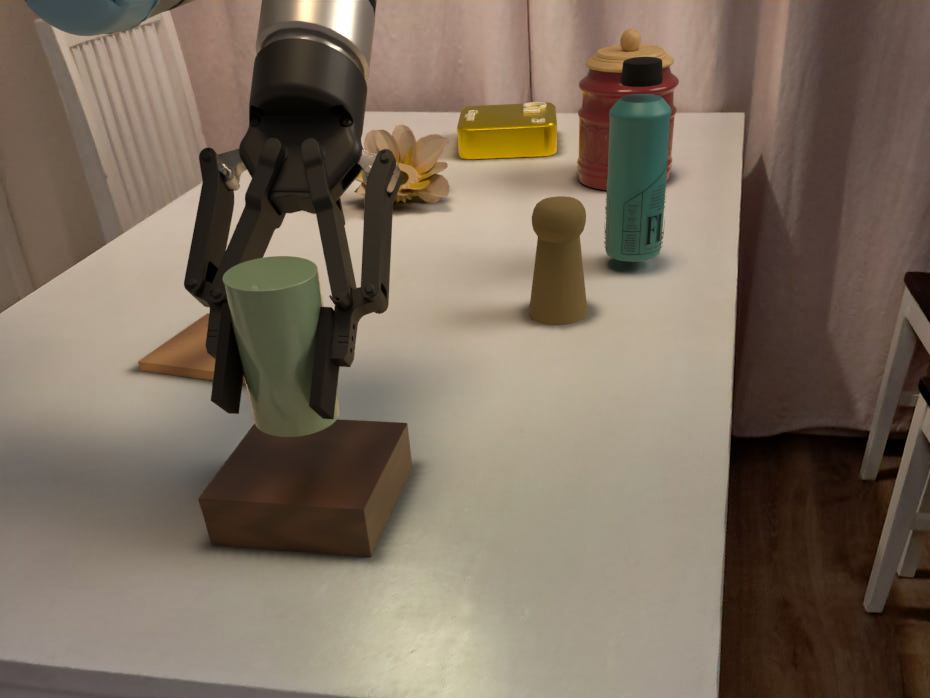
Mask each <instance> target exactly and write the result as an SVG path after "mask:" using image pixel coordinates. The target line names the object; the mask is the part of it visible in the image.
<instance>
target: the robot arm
mask: <svg viewBox="0 0 930 698" xmlns="http://www.w3.org/2000/svg"><path fill="white" fill-rule="evenodd" d="M23 1H24V2H25V3H26V6H27V7H28V8H29V9H30V10H31V11H32V12H33V13H34V14H35V15H36V16H37V17H39V18H40V19H41V20H42V21H44V22H45V23H47V24H48V25H50V26H51V27H53V28H55V29H57V30H58V31H61V32H64V33H65V34H68V35H69V34H70V35H73V36H79V37H94V36H101V35H112V34H116V33H120V32H127V31H130V30H132V29H135V28H137V27H139V26H140V25H141V24H142V23H143V22H145V21H147V20H148V19H150V18H153V17H155V16H157V15H160V14H162V13H165V12H167V11H169V12H170V11H171V10H174V9H177V8H179V7H181V6H184V5H186V4H189V3H191V2H194V1H195V0H23ZM377 2H378V0H261V3H260V11H259V19H258V24H257V25H258V26H257V34H256V40H255V52H256V53H255V54H256V56H255V58H254V61H253V69H252V76H251V77H252V78H251V84H250V85H251V86H250V92H249V93H250V94H249V103H248V127H247V131H246V133H245V134H244V136H243V137H242V139H241V141H240V142H239V146H238V148H235V149H232V150H229V151H226V152H222V153H219V154H218V153H217V152H216V150H214V148H212V147H205V148H203V149H201V151H200V152H199V154H198V161H199V168H200V174H201V175H200V176H201V181H202V183H201V189H200V193H199V198H198V199H199V200H198V205H197V209H196V216H195V221H194V226H193V230H192V231H193V232H192V238H191V243H190V248H189V253H188V257H187V258H188V259H187V263H186V269H185V274H184V275H185V276H184V279H183V287H184V289H185V290H186V291H187V292H188V293H189V295H191V296H192V297H193V298H194V299H196V300H197V302H198V303H199V304H201V305H202V306H203V307H206V308H209V312H208V313H209V320H208V329H207V330H208V331H207V337H206V349H207V353H208V354H209V355H211V356H212V357H213V358H214V359H216V360H215V369H214V377H213V381H212V386H211V393H210V402H212V403H213V404H215V405H216V406H218V407H219V408H220V409H221V410H223V411H224V412H226V413H227V414H231V415H232V414H233V415H239V414H240V408H241V401H242V400H241V399H242V390H243V385H242V383H243V375H244V374H243V370H242V365H241V361H240V356H239V352H238V347H237V343H236V338H235V334H234V330H233V325H232V321H231V316H230V312H229V307H228V303H227V298H226V294H225V290H224V285H223V281H222V278H223V275H224V273H225V272H226V271H227V270H229V269H230V268H232V267H234V266H236V265H238V264H240V263H243V262H246V261H250V260H254V259H258V258H264V257H265V254H266V251H267V249H268V247H269V245H270V242H271V240H272V237H273V236H274V233H275V230H276V229H280V228H281V226H282V224H283V222H284V220H285V218H286V215H287V214H293V213H298V212H305V213H309V214H312V215H315V216H316V221H317V226H318V227H317V228H318V231H319V236H320V242H321V246H322V252H323V259H324V262H325V268H326V272H327V277H328V283H329V288H330V293H331V294H330V295H328V297H329V299H330V301H331V302H332V303H333V305H334V308H333V307H332V306H324V307H320V313H319V322H318V331H317V340H316V349H315V357H314V366H313V375H312V384H311V392H310V401H309V407H310V408H311V409H313V410H314V411H315V412H316V413H317V414H318V415H319V416H320V417H321V418H322V419H334V411H335V402H336V393H337V394H338V385H339V384H338V383H339V374H340V368H351V366H352V365H353V362H354V360H355V355H356V353H355V351H356V344H357V335H358V327H359V322H360V320H361V319H362V318H363V317H364V316H367V315H370V314H372V313H375V314H378V315H381V314H384V313H385V312H387V310H388V308H389V304H390V303H389V302H390V280H391V260H392V259H391V258H392V257H391V256H392V235H393V234H392V233H393V215H394V214H393V213H394V212H393V211H394V203H395V202H396V200H395V198H396V196H397V193H398V191H399V188H400V186H401V183H402V180H403V176H402V173H401V170H400V168H399V166H398V164H397V161H396V159H395V157H394V154H393V153H392V151H390V150H389V149H383V150H381V151H379V152H378V154H375V153H372V152H369V151H366V150H364V146H363V143H362V136H363V131H364V125H365V116H366V107H367V99H368V98H367V97H368V84H367V82H368V79H369V76H370V67H371V60H372V59H371V58H372V51H373V41H374V33H375V24H376V10H377ZM246 171H247V172H248V174H249V176H250V177H251V180H250V182H249V184H248V186H247V189H246V191H245V195H244V201H245V203H244V207H243V210H242V212H241V214H240V217H239V219H238V222H237V223H236V226H235V229H234V231H233V233H232V235H231V238H230V240H229V235H230V230H231V225H232V219H233V214H234V207H235V192H236V191H239V189H240V188H241V185H240V181H241V176H242V174H243V173H244V172H246ZM361 172H363V174H362V178H363V181H364V183H365V185H366V189H365V196H364V198H365V206H364V205H363V206H364V207H363V208H364V209H363V227H362V229H363V230H362V248H361V249H362V252H361V253H362V254H361V269H360V270H361V273H360V287H357V284H356V283H357V281H356V277H355V271H354V268H353V262H352V256H351V252H350V247H349V242H348V237H347V236H348V235H347V232H346V227H345V225H346V219H345V213H344V209H343V204H342V203H343V202H342V199H341V197H342V196H343V195H344V194H345V192H346V191H347V190H348V189H349V187H350V186H351V185H352V184H353V183H354V181H356V180H355V179H356V178H357V177H358V175H359V174H360V173H361ZM228 241H229V243H228Z"/></svg>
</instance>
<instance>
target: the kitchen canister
mask: <svg viewBox="0 0 930 698" xmlns="http://www.w3.org/2000/svg"><path fill="white" fill-rule="evenodd" d="M619 40H620V41H619V42H620V44H617V45H616V44H615V45H610V46H605V47H602V48H599V49H597V51H596V52H595V54H593V55H592V56H591V57H588V59H587V60H586V61H585V66H586V68H588V72H587V74H586V75H585V76H584V77H582V78H581V80H579V81H578V87H579V89H580V90H581V92H582V99H581V107H580V108H579V109H578V111H577V115H578V118H579V121H578V123H579V124H578V129H579V130H578V156H577V161H576V164H577V166H576V170H577V174H578V180H579V182H580V183H581V184H583V185H584V186H587V187H589V188H591V189H592V188H593V189H597V190H603V191H607V178H608V176H607V175H608V155H609V125H610V117H609V112H610V109H611V108H612V107H613V105H614V104H615V103H616V102H617V101H618V100H619V99H620V98H621V97H623V96H626V95H632V94H654V95H659V96H661V97H662V98H663V99H664V100H665V101H666V102H667V104H668V105H669V106H670V108H671V115H670V126H669V141H668V143H669V145H668V161H667V164H669V165H667V175H666V182H667V181H668V180H669V178H670V173H671V171H672V166H673V165H672V163H673V156H672V153H673V143H674V142H673V140H674V131H675V130H674V129H675V128H674V127H675V117H676V114H677V111H678V110H677V107H676V105H674V104H675V102H674V96H675V95H674V93H675V89H676V88H677V86H678V85H679V83H680V80H679V78H678V76H676V75H675V74H674V73H672V70H671V67H672V65H673V64H674V62H675V58H674V57H672V56H671V55H670V54H669V53H667V52H666V51H665V50H664V48H663V47H662V46H658V45H653V44H641V43H642V36H641V34H640V32H639V31H638V30H637V29H636V28H628V29H627V28H626V29H625V30H624V31H623V32H622V34H621V36H620V39H619ZM634 57H656V58H660V59H661V60H662V74H663V81H662V83H661V84H659V85H655V86H649V87H629V86H624V85H622V84H621V75H622V67H623V62H624V61H625V60H626V59H629V58H634ZM669 148H670V150H669ZM605 185H606V186H605Z"/></svg>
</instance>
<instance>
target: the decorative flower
mask: <svg viewBox="0 0 930 698" xmlns="http://www.w3.org/2000/svg"><path fill="white" fill-rule="evenodd" d="M448 143H449V140H448V139H447V138H446V137H444V136H443V135H440V134H438V133H437V134H435V133H434V134H428V135H426V136H423V137H420V138H419V139H418V140H417V139H416V135H415V134H414V132H413V131H412V129H411V128H410V127H409V126H407V125H405V124H403V123H402V124H396V125H394V128H393V130H392V133H390V132H388V131H387V130H385V129H371V130H370V131H368V132H367V133H365V137H364V140H363V149H364V150H366V151H369V152H372V153H375V154H378V152H379V151H381V150H383V149H389V150H390V151H392V153H393V154H394V157H395V159H396V161H397V164H398V166H399V168H400V170H401V173H402V176H403V180H402V183H401V186H400V188H399V191H398V193H397V196H396V198H395V202H396V203H397V204H399V202H403V203H404V204H406V201H407V200H410V201H412V198H413V197H417V196H418V197H419V198H420V199H421V200H423V201H424V202H425V203H429V204H432V203H433V204H434V203H438V202H439V201H440V200H441V199H442V198H447V197H448V196H449V194H450V183H449V181H448V179H447V178H446V177H445V176H444V175H442V174H439V173H441V172H444V171H445V170H446V169H448V162H446V161H439V160H440V158H441V157H442V155H443V153H444V151H445V149H446V148H447V146H448ZM362 174H363V172H361V173H360V174H359V175H358V177H357V178H356V179H355V180H354V181H357V182H359V183H360V185H359V186H358V187H357V188H356V189H355V190H353V193H356V194H357V195H361V196H364V198H363V206H365V189H366V185H365V183H364V181H363V178H362Z"/></svg>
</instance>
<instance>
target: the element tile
mask: <svg viewBox="0 0 930 698" xmlns="http://www.w3.org/2000/svg"><path fill="white" fill-rule="evenodd" d="M557 119H558V117H557V108H556V106H555V104H553V103H552V102H543V101H529V102H524V103H510V104H509V103H507V104H487V105H483V104H482V105H468V106H464V107H463V108H462V109H461V110H460V113H459V117H458V122H457V127H456V137H457V153H458V157H459V158H460V159H462V160H468V161H469V160H470V161H473V160H474V161H475V160H497V159H501V160H502V159H519V158H543V157H551V156H553V155H555V154H556V153H557V151H558V120H557Z"/></svg>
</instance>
